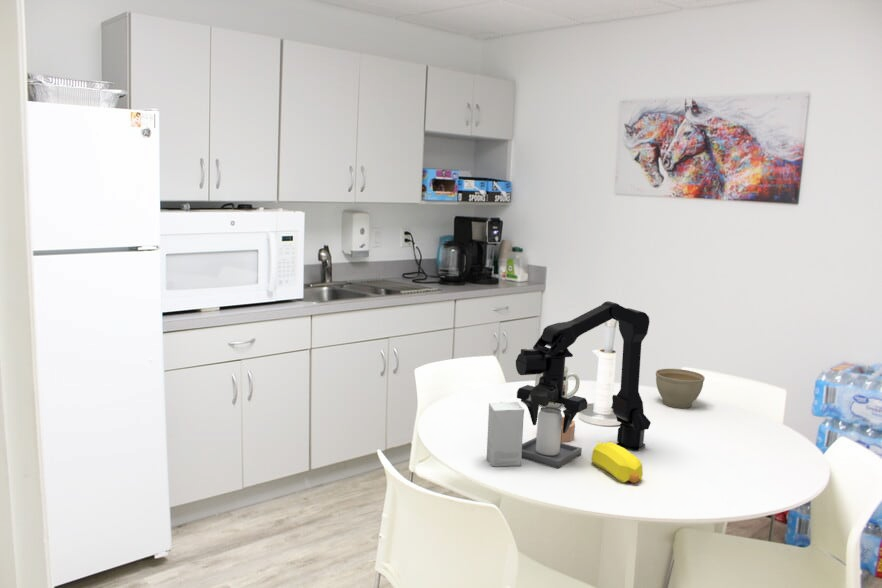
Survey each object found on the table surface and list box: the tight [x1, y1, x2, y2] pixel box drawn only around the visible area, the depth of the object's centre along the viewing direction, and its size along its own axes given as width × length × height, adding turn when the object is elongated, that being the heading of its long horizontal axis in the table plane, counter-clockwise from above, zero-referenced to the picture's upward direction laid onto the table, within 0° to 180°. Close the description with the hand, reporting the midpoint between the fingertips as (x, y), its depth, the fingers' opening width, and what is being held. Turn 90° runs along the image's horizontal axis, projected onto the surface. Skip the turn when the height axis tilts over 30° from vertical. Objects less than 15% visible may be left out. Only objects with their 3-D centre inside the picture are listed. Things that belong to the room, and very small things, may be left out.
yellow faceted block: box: [590, 441, 644, 484], centre depth 192 cm, size 18×7×8 cm
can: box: [536, 406, 563, 456], centre depth 201 cm, size 6×6×12 cm
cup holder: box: [560, 416, 576, 443], centre depth 218 cm, size 11×11×4 cm
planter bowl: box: [655, 368, 705, 409], centre depth 257 cm, size 16×16×11 cm
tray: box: [521, 436, 582, 469], centre depth 202 cm, size 14×14×2 cm
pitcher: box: [534, 365, 581, 408], centre depth 249 cm, size 11×18×14 cm, turn 103°
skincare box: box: [486, 401, 525, 467], centre depth 194 cm, size 8×7×16 cm
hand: (549, 428), depth 201 cm, fingers open, 9 cm apart
